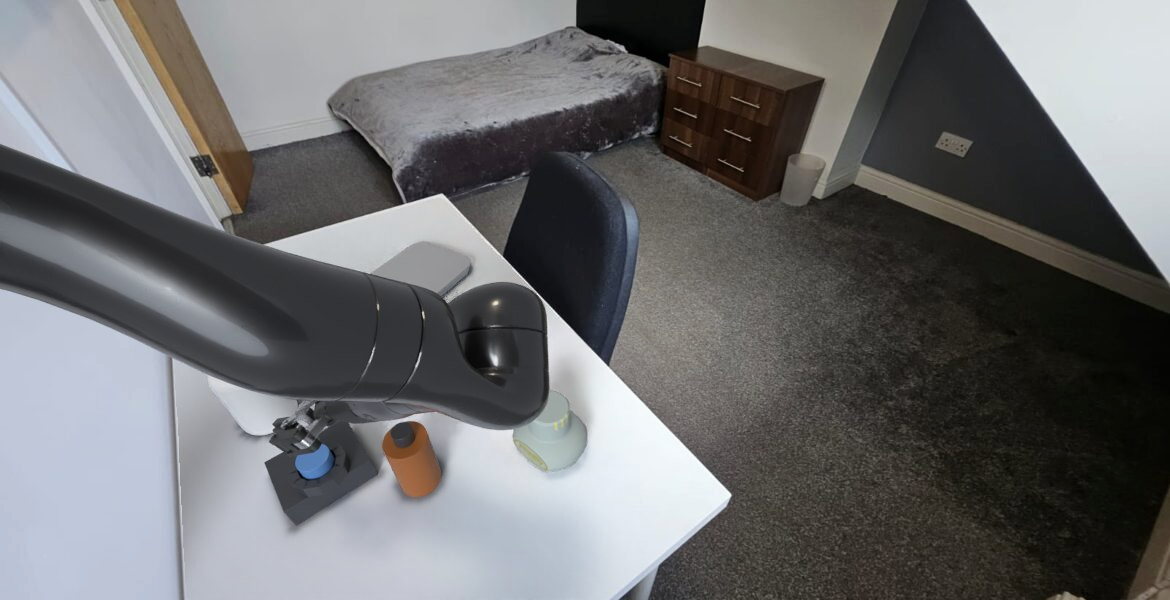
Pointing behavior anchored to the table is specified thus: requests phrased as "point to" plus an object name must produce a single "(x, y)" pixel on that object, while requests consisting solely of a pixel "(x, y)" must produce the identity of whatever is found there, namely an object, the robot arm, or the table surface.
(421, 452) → the bottle
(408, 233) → the table surface
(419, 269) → the tablet
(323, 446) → the blue push button
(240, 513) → the table surface
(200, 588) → the table surface
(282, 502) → the dark grey button base
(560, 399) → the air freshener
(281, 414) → the pill bottle
